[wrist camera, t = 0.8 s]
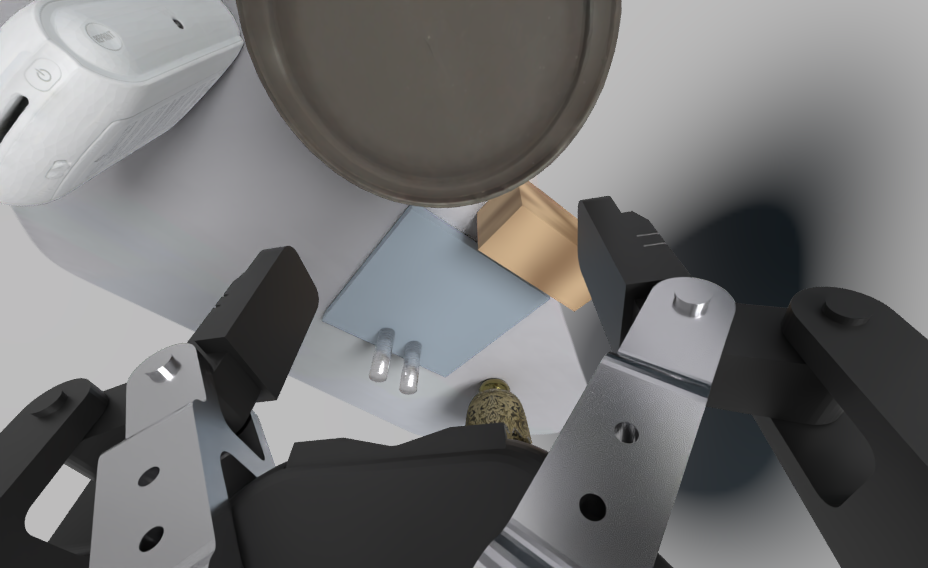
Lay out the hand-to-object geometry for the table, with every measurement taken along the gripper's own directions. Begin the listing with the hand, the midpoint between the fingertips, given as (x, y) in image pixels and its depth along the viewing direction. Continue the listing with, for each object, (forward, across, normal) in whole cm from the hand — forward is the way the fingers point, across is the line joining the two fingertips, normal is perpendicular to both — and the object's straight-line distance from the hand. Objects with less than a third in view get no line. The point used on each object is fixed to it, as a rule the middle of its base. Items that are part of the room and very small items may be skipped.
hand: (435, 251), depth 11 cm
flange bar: (+18, -5, +11) cm, 22 cm away
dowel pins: (+18, +10, +21) cm, 29 cm away
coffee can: (+18, -1, -5) cm, 18 cm away
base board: (+19, +5, +18) cm, 26 cm away
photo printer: (+18, +16, -5) cm, 25 cm away
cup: (+20, +1, +33) cm, 38 cm away
